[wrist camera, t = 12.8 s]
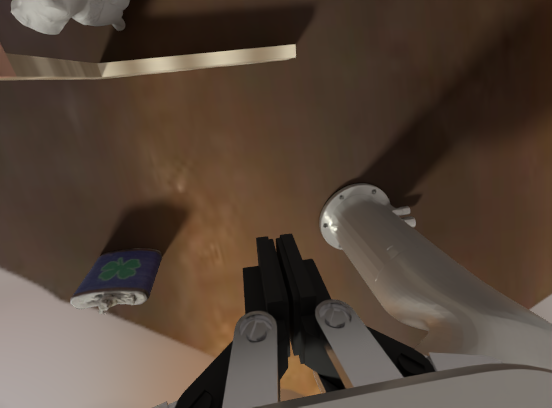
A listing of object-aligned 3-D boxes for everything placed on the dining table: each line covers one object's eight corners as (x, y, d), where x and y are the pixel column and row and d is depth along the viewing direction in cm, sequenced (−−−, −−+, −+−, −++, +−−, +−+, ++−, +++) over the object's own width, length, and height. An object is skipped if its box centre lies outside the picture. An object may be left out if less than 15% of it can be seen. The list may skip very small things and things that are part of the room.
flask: (101, 265, 41) (63, 323, 31) (96, 250, 39) (56, 305, 30) (163, 261, 42) (146, 314, 33) (161, 246, 41) (142, 297, 31)
